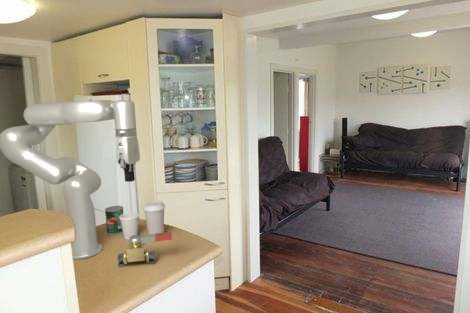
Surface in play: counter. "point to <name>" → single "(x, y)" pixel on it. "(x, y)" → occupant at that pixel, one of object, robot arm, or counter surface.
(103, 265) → the counter surface
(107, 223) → the canned tomato
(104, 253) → the counter surface
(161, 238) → the lever
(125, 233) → the dixie cup
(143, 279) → the counter surface
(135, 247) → the valve body
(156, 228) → the coffee cup
